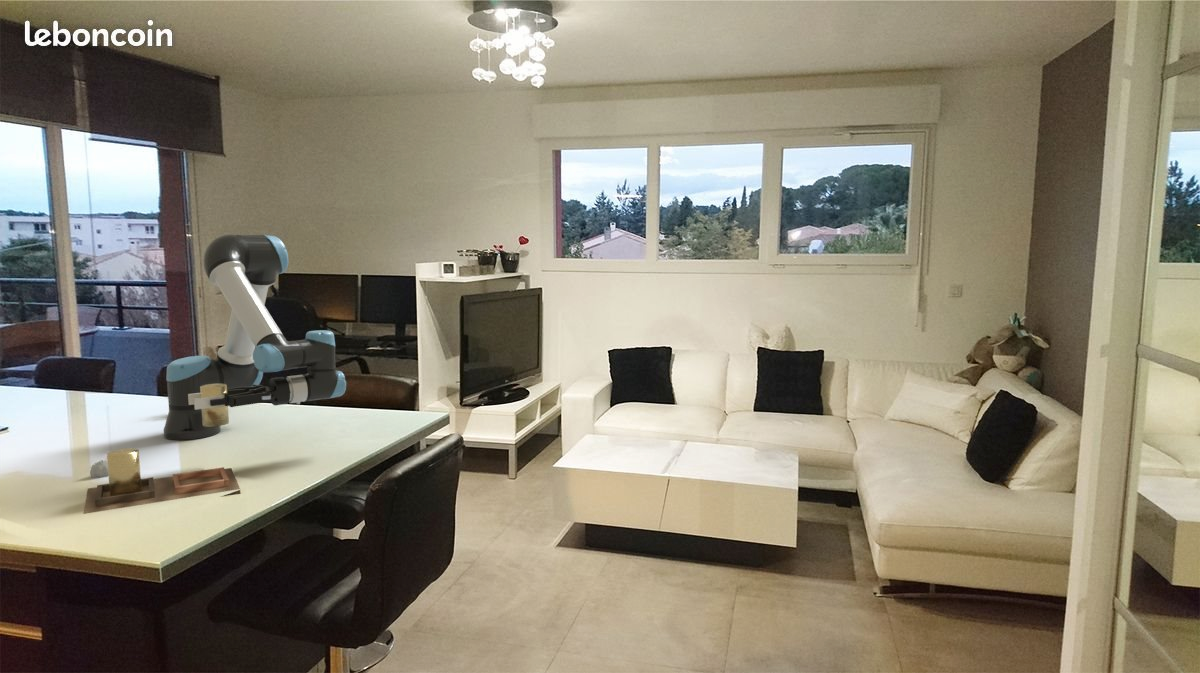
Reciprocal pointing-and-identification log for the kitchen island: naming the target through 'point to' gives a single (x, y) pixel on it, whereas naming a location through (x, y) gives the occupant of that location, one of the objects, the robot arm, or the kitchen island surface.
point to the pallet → (164, 489)
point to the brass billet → (215, 414)
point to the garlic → (99, 469)
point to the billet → (124, 471)
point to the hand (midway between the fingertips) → (191, 401)
